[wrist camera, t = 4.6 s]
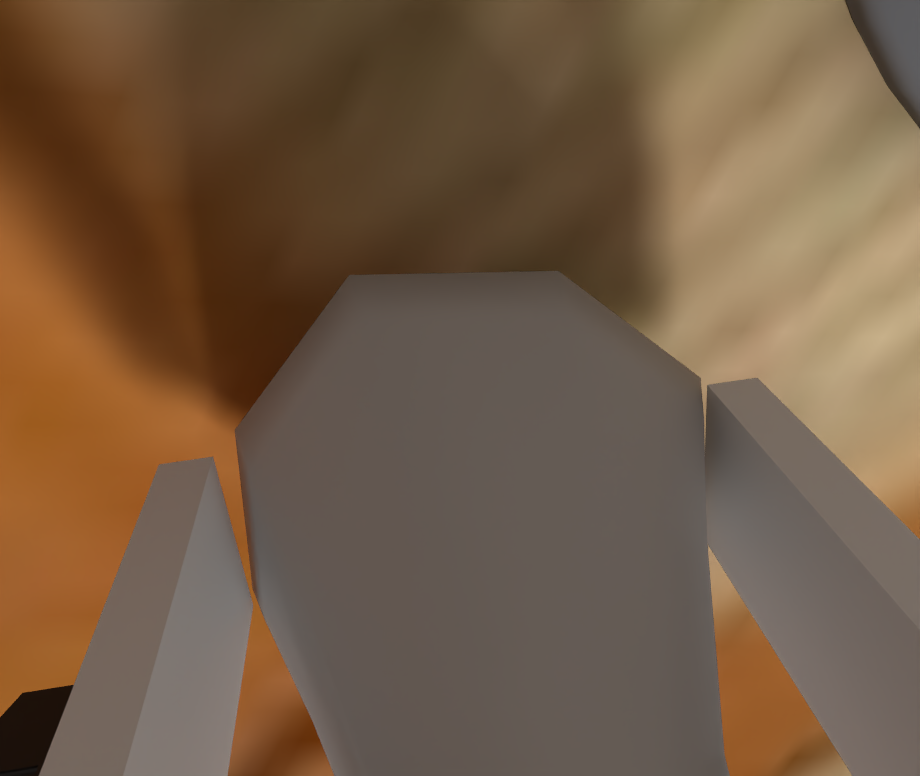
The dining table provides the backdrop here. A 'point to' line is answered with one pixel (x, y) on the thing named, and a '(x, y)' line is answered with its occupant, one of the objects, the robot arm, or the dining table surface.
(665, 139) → the dining table surface
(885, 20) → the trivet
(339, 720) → the flask
